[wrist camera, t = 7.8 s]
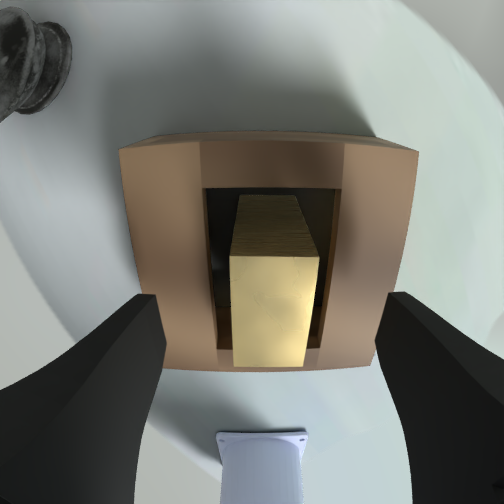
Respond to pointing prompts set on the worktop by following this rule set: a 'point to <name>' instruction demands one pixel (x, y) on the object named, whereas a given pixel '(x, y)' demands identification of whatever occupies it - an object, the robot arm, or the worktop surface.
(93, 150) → the worktop surface
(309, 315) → the block
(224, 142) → the walnut box
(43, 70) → the salt shaker
